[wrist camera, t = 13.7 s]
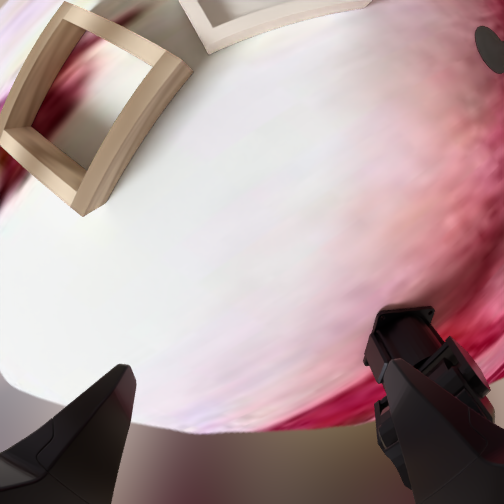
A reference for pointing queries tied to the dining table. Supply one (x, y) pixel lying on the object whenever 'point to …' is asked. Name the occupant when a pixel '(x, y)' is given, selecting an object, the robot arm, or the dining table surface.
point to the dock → (254, 17)
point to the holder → (121, 133)
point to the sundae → (490, 48)
